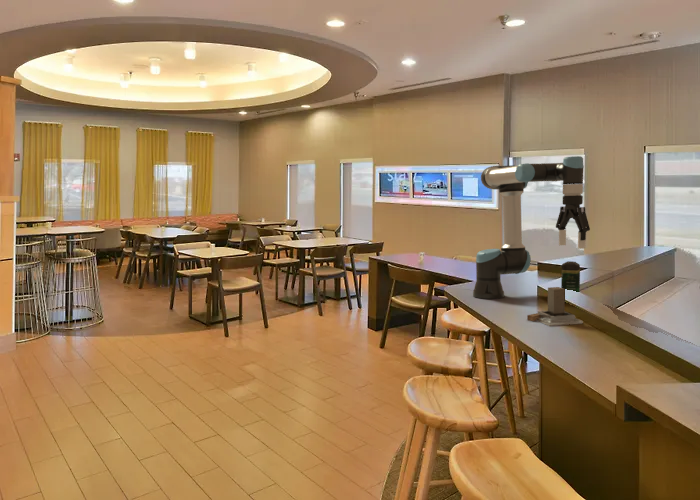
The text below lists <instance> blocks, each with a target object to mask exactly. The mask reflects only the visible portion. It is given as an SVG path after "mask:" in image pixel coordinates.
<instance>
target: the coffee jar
mask: <svg viewBox="0 0 700 500" xmlns="http://www.w3.org/2000/svg"><path fill="white" fill-rule="evenodd" d="M580 284H581V265H580V263H578V262H576V261H571V260H570V261H565V262H564V263H562V264H561V286H560V288H563V289H567V290H573V291H576V292H580V290H581V289H580V288H581V287H580V286H581V285H580Z"/></svg>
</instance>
